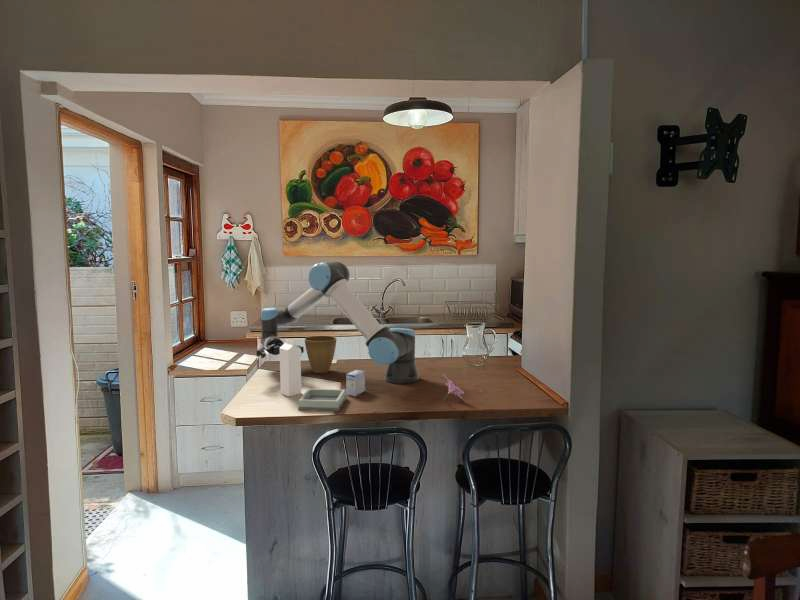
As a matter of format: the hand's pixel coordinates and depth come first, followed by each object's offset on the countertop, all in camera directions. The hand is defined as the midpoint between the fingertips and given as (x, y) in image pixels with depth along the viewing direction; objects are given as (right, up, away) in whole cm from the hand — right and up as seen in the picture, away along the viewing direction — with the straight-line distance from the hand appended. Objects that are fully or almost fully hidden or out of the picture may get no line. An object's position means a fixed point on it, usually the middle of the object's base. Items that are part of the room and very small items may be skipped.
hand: (284, 355), depth 213 cm
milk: (+4, -15, -7) cm, 17 cm away
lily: (+69, -16, -15) cm, 72 cm away
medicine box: (+30, -15, -6) cm, 34 cm away
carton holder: (+19, -16, -20) cm, 32 cm away
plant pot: (+11, -11, +27) cm, 31 cm away
